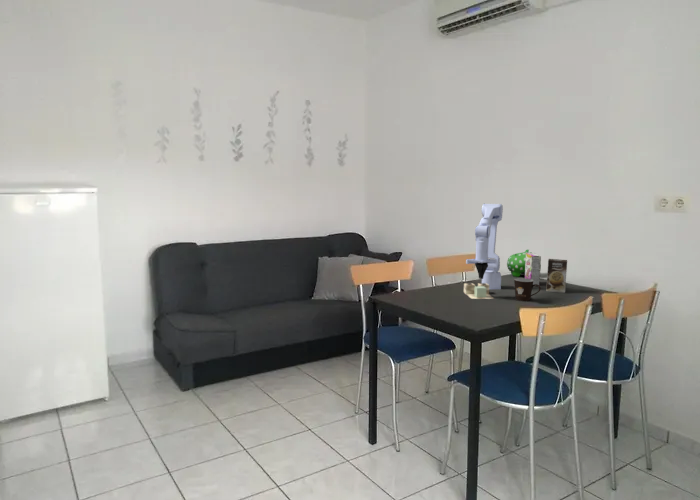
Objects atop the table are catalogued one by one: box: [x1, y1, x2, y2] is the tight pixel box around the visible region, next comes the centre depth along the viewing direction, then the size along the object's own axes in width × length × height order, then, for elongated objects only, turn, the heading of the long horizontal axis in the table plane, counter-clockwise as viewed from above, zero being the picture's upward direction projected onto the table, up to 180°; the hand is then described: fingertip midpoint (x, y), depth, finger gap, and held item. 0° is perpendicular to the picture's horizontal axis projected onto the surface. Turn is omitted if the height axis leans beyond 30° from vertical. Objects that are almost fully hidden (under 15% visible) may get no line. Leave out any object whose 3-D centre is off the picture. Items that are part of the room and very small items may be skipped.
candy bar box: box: [524, 252, 542, 287], centre depth 284 cm, size 11×5×16 cm, turn 179°
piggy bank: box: [506, 249, 542, 278], centre depth 307 cm, size 14×18×15 cm
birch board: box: [466, 293, 495, 300], centre depth 257 cm, size 11×15×1 cm
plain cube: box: [474, 285, 487, 297], centre depth 253 cm, size 4×4×4 cm
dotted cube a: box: [477, 282, 490, 295], centre depth 260 cm, size 4×4×5 cm
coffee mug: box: [513, 277, 542, 302], centre depth 246 cm, size 12×9×10 cm
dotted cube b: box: [463, 282, 476, 295], centre depth 260 cm, size 4×4×5 cm
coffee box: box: [545, 258, 568, 294], centre depth 268 cm, size 9×6×16 cm
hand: (480, 278), depth 252 cm, fingers closed
